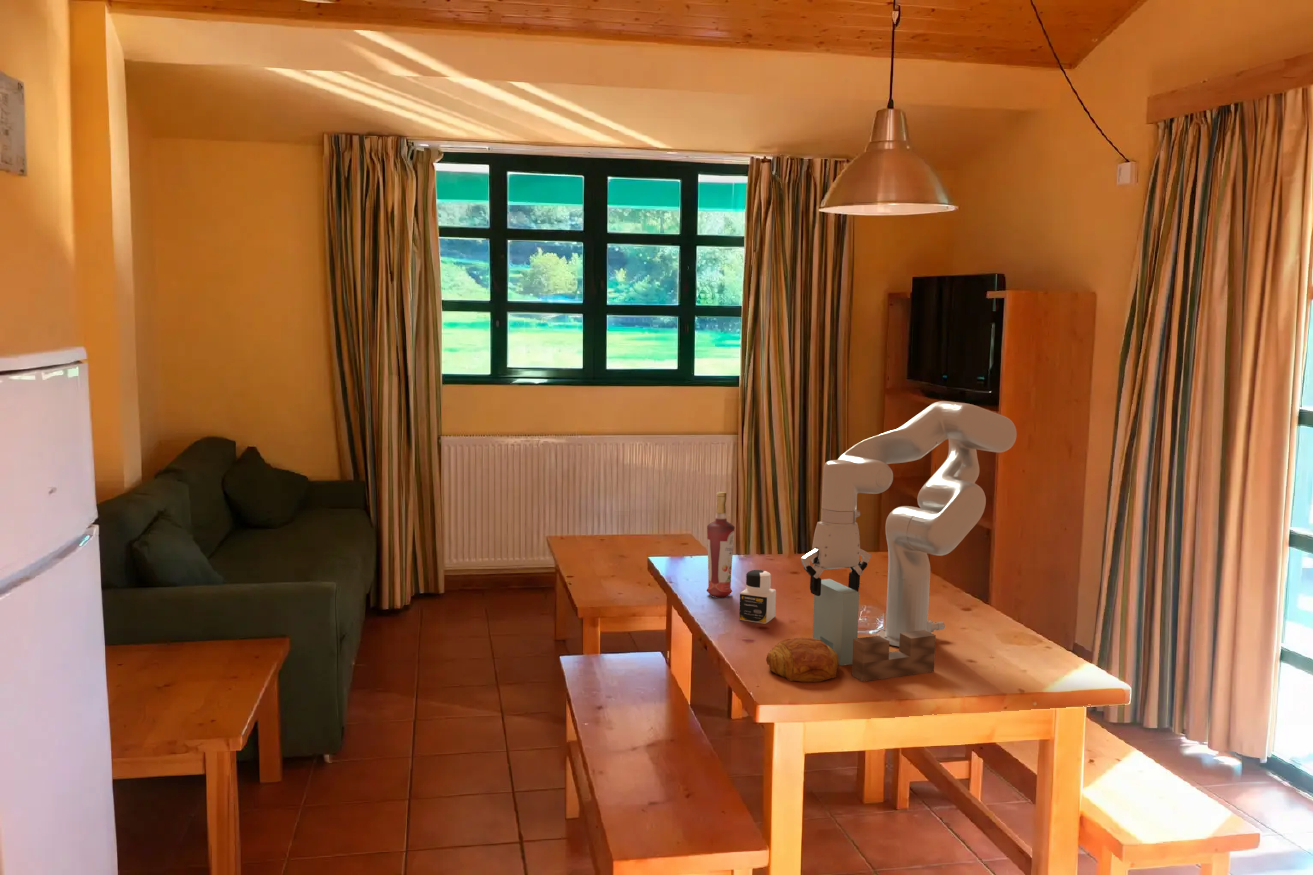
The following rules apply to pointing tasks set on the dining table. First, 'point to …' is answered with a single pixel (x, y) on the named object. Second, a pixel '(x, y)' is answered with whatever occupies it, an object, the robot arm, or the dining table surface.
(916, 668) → the mottled brown block
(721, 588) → the liquor
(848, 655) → the plain rectangular block
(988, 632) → the dining table surface
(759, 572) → the medicine bottle
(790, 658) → the croissant
